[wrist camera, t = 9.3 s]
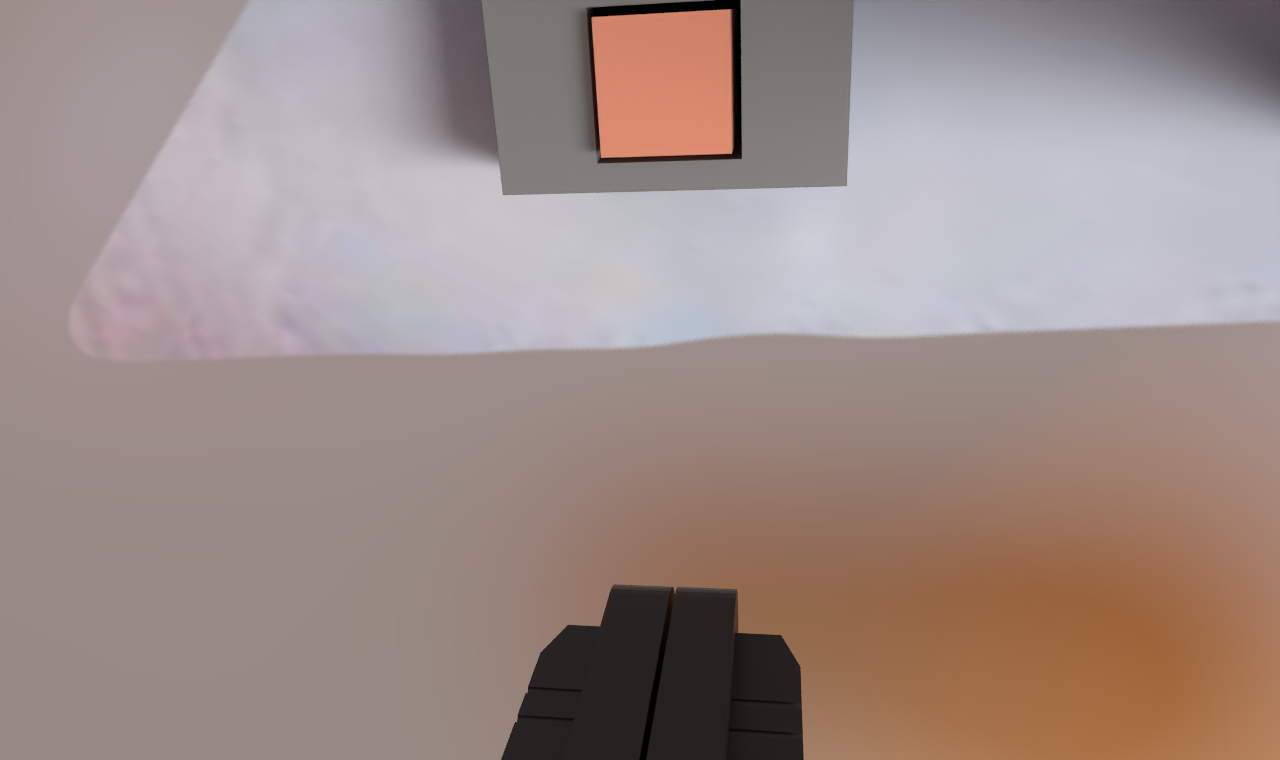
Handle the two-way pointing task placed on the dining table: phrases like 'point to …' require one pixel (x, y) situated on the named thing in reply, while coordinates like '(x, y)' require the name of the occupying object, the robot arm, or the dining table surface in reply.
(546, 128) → the grey plug holder
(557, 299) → the dining table surface
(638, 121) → the orange cube
